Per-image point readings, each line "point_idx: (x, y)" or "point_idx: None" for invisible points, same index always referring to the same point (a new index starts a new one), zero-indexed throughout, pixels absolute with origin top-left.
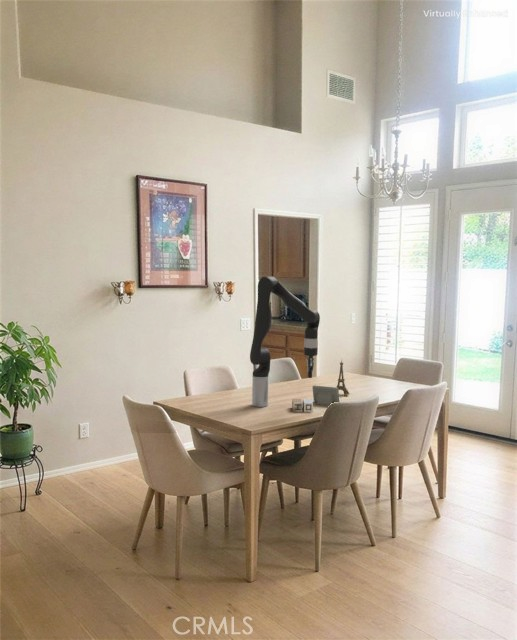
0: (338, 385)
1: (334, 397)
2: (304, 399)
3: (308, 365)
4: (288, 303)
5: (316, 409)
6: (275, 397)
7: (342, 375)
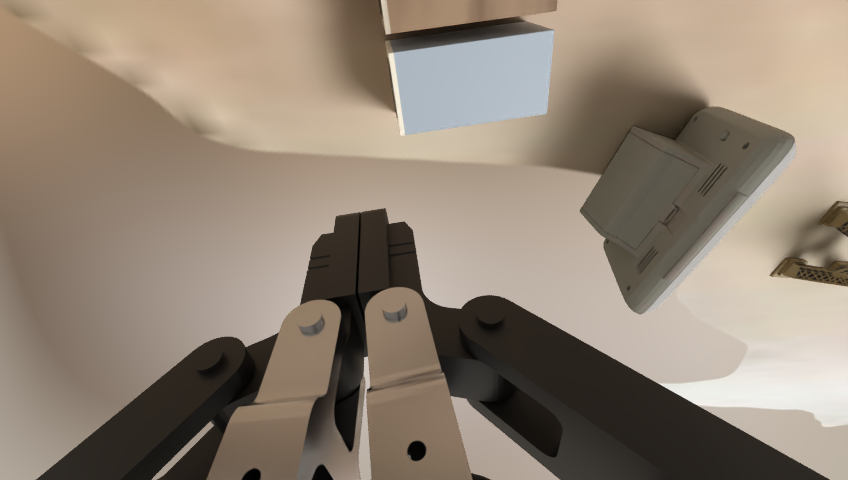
0: None
1: (620, 253)
2: (535, 49)
3: (237, 476)
4: None
5: (470, 133)
6: None
7: None
